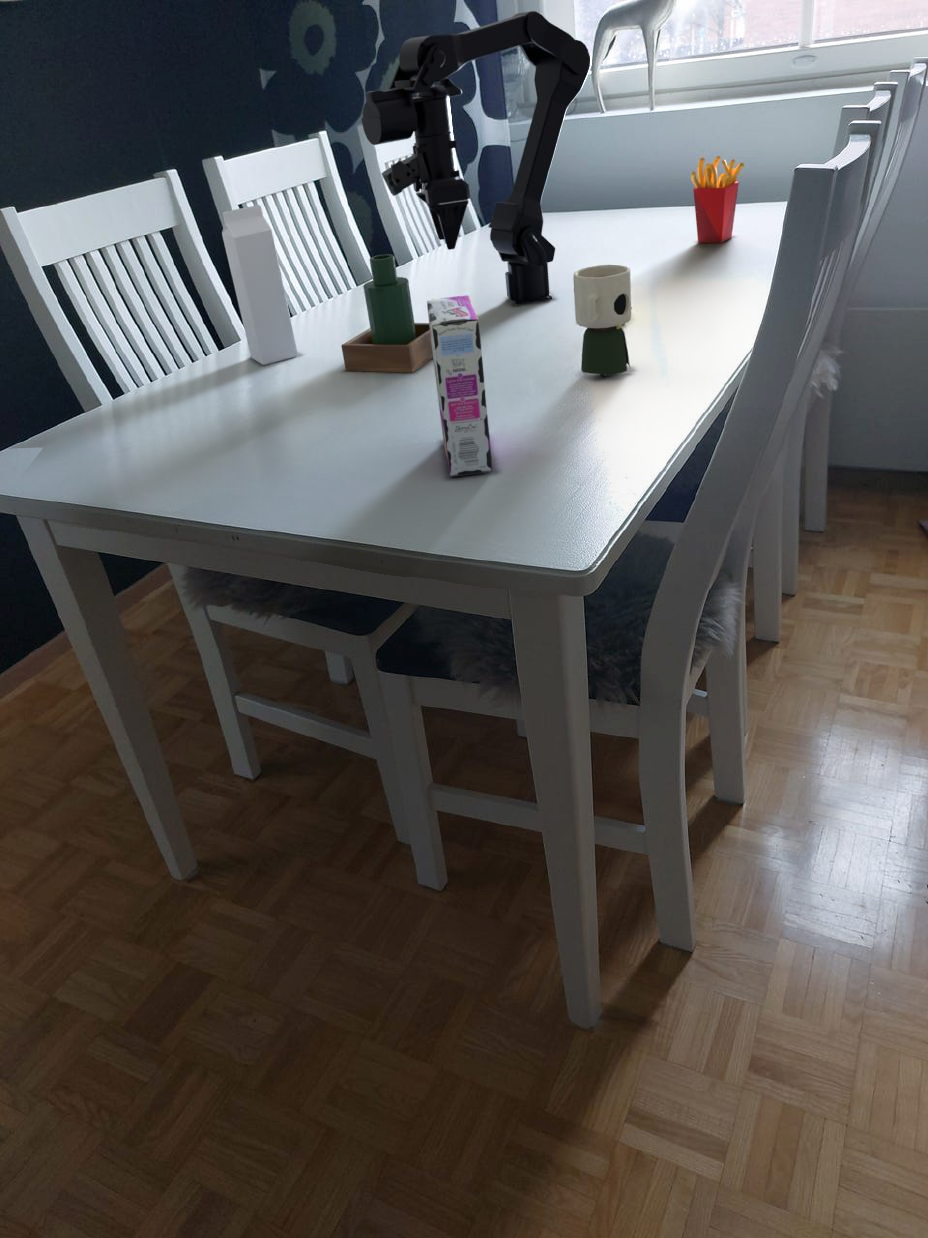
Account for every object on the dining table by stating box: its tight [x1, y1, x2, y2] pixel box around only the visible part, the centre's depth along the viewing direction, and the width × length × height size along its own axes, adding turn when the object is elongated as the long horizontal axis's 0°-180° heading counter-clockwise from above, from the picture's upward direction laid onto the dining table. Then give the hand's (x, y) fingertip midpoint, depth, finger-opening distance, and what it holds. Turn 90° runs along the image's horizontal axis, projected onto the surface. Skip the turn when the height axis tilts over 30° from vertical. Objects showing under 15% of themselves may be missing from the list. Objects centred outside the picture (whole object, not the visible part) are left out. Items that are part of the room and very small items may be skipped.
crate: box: [340, 322, 433, 374], centre depth 140 cm, size 11×11×4 cm
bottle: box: [362, 253, 416, 345], centre depth 137 cm, size 6×6×14 cm
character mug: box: [572, 264, 633, 378], centre depth 121 cm, size 11×7×13 cm, turn 156°
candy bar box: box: [426, 295, 494, 478], centre depth 102 cm, size 11×5×16 cm, turn 5°
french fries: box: [690, 155, 745, 244], centre depth 179 cm, size 9×8×15 cm
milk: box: [221, 204, 299, 366], centre depth 144 cm, size 6×6×22 cm
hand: (446, 243), depth 149 cm, fingers open, 9 cm apart
